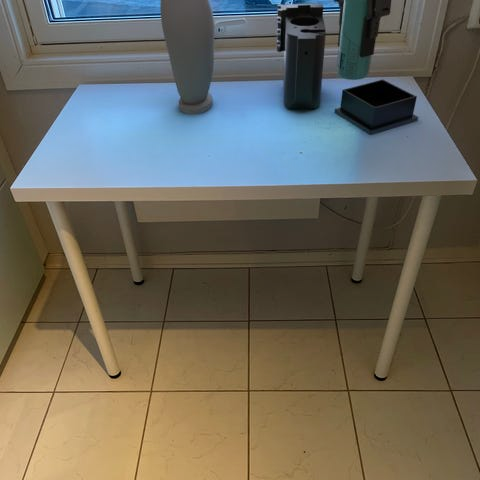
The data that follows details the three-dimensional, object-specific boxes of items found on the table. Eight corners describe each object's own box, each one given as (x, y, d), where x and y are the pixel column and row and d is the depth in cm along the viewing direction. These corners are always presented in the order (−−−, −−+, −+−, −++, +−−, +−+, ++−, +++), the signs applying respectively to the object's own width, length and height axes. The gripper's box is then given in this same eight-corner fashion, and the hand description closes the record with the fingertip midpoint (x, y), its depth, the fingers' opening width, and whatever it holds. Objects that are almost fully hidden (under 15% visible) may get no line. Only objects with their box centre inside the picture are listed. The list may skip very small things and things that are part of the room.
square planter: (417, 120, 132) (422, 97, 128) (370, 135, 127) (374, 110, 123) (379, 100, 141) (383, 77, 137) (334, 112, 137) (336, 89, 132)
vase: (215, 116, 137) (205, -44, 112) (166, 115, 138) (146, -43, 113) (221, 95, 146) (213, -56, 121) (175, 95, 147) (158, -55, 122)
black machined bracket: (316, 83, 150) (323, -4, 135) (321, 114, 136) (328, 21, 120) (275, 84, 151) (277, -3, 135) (275, 115, 136) (277, 22, 121)
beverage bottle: (374, 82, 104) (392, -36, 90) (350, 90, 102) (364, -30, 88) (352, 72, 108) (366, -42, 94) (327, 80, 106) (338, -37, 92)
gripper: (319, -106, 89) (311, 40, 106) (394, -94, 77) (371, 69, 94) (355, -110, 92) (341, 33, 108) (432, -99, 80) (403, 61, 96)
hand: (355, 50), depth 101 cm, fingers closed on beverage bottle, 6 cm apart
